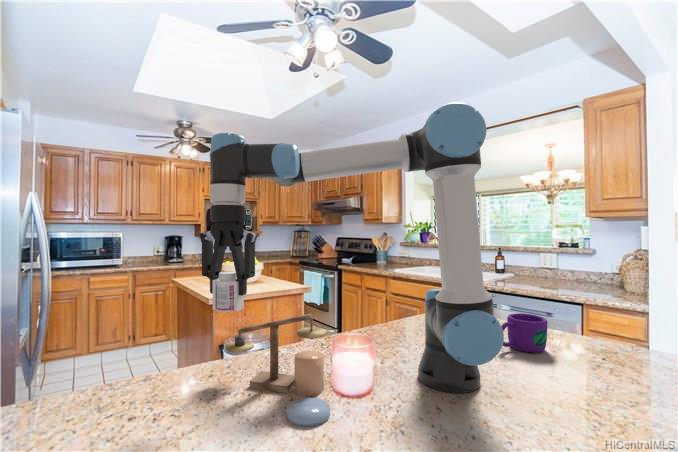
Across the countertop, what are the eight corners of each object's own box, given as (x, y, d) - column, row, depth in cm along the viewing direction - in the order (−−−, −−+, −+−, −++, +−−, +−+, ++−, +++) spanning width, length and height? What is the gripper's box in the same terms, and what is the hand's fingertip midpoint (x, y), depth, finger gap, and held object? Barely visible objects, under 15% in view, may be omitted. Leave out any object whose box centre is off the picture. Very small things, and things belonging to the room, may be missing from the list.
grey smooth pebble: (335, 406, 76) (335, 401, 76) (321, 429, 67) (321, 423, 67) (297, 400, 78) (297, 395, 78) (278, 422, 70) (278, 416, 70)
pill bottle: (232, 313, 76) (232, 274, 76) (212, 312, 77) (212, 273, 77) (243, 308, 80) (242, 271, 80) (224, 307, 81) (223, 271, 81)
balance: (329, 386, 86) (330, 311, 86) (320, 399, 79) (320, 319, 79) (235, 372, 93) (235, 304, 93) (219, 383, 86) (219, 310, 87)
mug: (526, 341, 120) (526, 311, 120) (556, 352, 109) (556, 320, 109) (484, 346, 115) (484, 315, 115) (512, 359, 104) (512, 325, 104)
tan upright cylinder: (327, 385, 86) (327, 352, 86) (317, 398, 80) (318, 363, 80) (301, 381, 88) (301, 349, 88) (289, 393, 82) (289, 359, 82)
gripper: (271, 205, 79) (272, 307, 79) (205, 206, 85) (205, 303, 85) (254, 202, 72) (254, 316, 72) (183, 204, 77) (183, 310, 77)
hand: (228, 308), depth 78 cm, fingers closed on pill bottle, 5 cm apart
